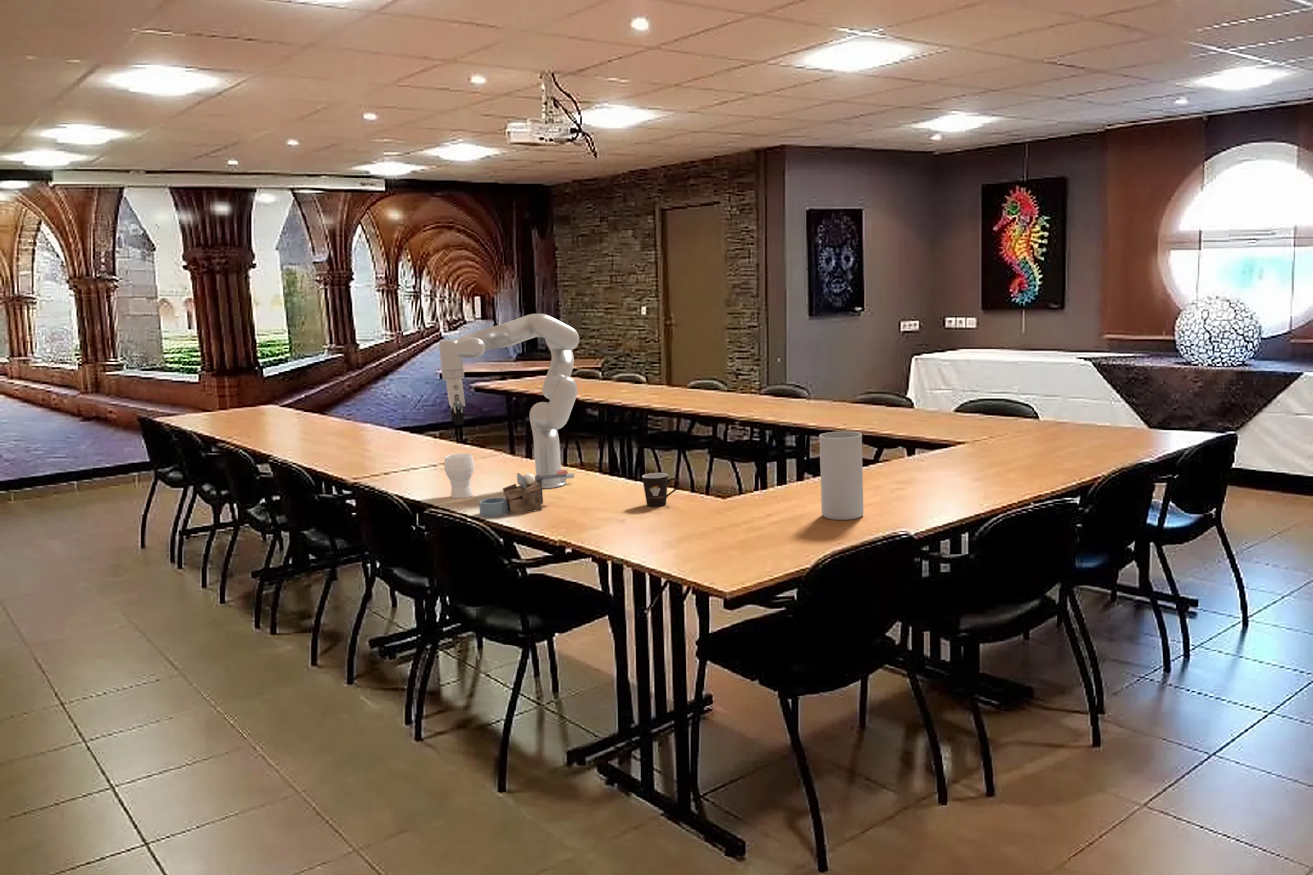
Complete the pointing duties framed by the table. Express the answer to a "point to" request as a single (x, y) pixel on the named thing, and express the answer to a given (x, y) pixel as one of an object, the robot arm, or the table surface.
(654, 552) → the table surface
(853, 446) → the cylinder vase
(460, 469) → the cup
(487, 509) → the pot
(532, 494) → the cardboard box
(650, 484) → the coffee mug
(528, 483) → the ball
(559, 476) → the lever
